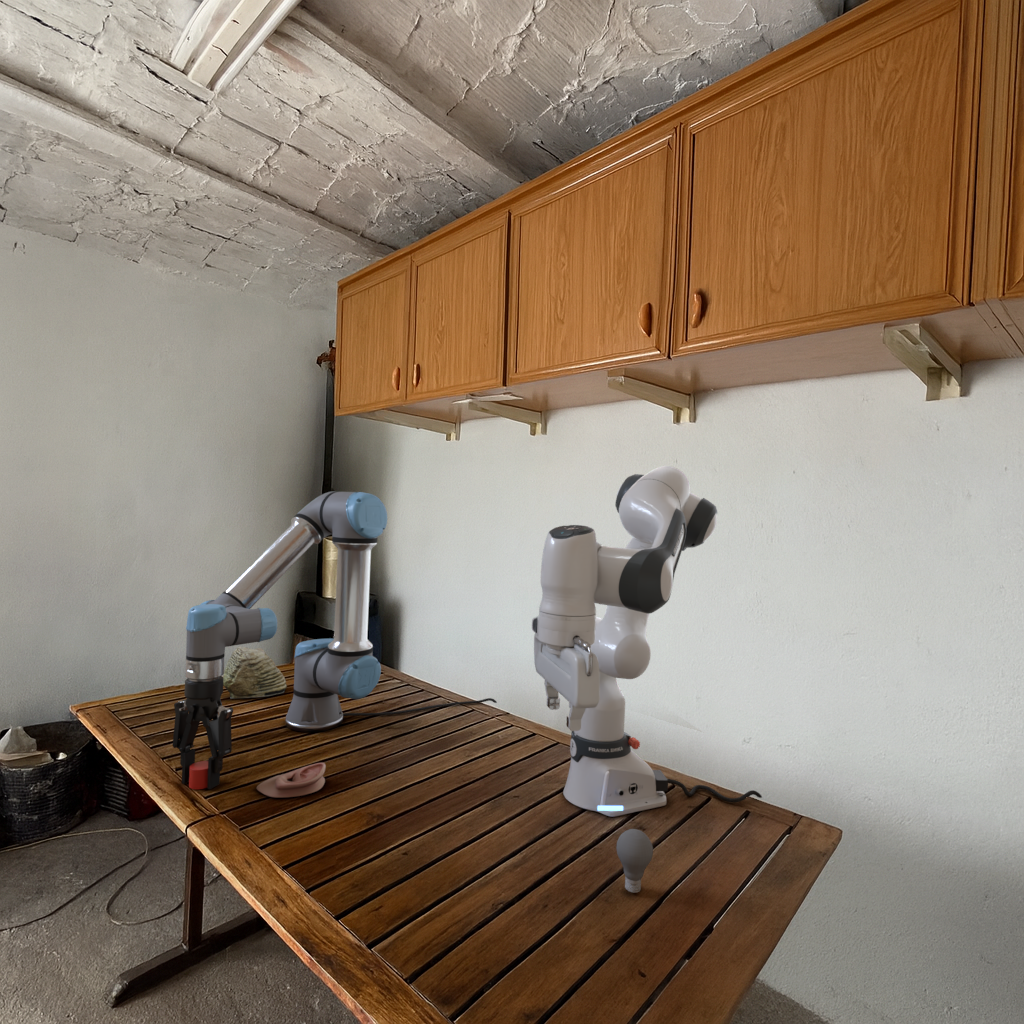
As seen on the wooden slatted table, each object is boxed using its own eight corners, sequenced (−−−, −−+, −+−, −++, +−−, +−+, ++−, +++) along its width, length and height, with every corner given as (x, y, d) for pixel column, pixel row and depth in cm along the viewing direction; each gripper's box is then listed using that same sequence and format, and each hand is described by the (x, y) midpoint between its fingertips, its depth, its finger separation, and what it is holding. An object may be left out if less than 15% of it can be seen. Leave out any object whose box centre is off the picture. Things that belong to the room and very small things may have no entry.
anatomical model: (248, 775, 133) (279, 754, 144) (247, 794, 133) (278, 771, 144) (306, 783, 130) (332, 761, 142) (305, 802, 130) (332, 779, 142)
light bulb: (610, 879, 108) (613, 822, 108) (644, 879, 109) (647, 822, 109) (619, 902, 102) (622, 840, 102) (655, 901, 103) (658, 840, 103)
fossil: (218, 695, 195) (220, 647, 195) (278, 685, 208) (279, 640, 207) (228, 703, 189) (230, 653, 188) (289, 692, 201) (290, 645, 201)
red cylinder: (185, 783, 137) (186, 764, 137) (208, 777, 140) (209, 759, 140) (193, 791, 134) (194, 772, 134) (216, 785, 137) (217, 765, 137)
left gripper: (155, 676, 136) (151, 783, 136) (228, 687, 130) (224, 799, 130) (182, 667, 143) (179, 769, 143) (253, 678, 137) (249, 784, 138)
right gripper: (613, 645, 89) (608, 742, 89) (563, 617, 109) (560, 697, 109) (570, 645, 88) (566, 745, 88) (528, 617, 107) (525, 698, 108)
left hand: (200, 783), depth 137 cm, fingers open, 6 cm apart
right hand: (562, 718), depth 99 cm, fingers open, 8 cm apart
